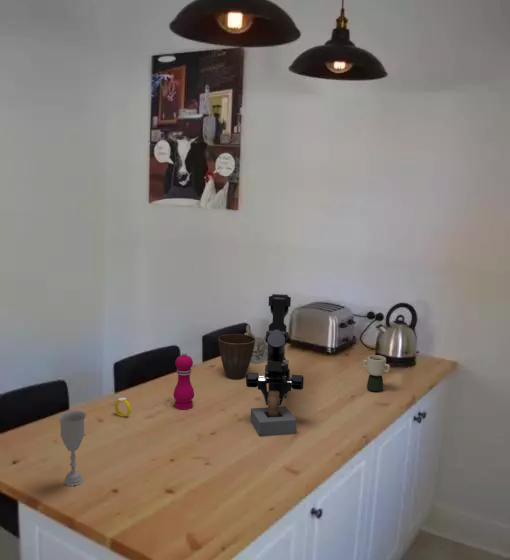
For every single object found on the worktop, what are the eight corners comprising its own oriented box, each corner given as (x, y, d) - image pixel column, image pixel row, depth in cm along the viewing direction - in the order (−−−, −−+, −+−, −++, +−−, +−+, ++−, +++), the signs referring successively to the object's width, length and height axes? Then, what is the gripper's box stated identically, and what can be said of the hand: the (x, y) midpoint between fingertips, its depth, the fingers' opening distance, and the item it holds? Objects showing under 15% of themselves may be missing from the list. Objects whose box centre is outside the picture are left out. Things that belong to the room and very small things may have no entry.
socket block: (250, 421, 202) (250, 408, 201) (285, 418, 205) (285, 406, 204) (259, 436, 190) (259, 422, 190) (296, 433, 193) (296, 419, 192)
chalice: (63, 475, 162) (61, 410, 159) (89, 474, 163) (88, 410, 160) (56, 488, 155) (55, 421, 152) (84, 488, 155) (83, 421, 152)
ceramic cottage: (235, 362, 266) (239, 329, 264) (242, 353, 282) (245, 322, 280) (271, 367, 264) (274, 333, 262) (275, 358, 280) (278, 326, 278)
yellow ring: (132, 416, 203) (132, 399, 202) (127, 419, 201) (127, 401, 200) (118, 412, 206) (118, 395, 205) (113, 415, 203) (112, 398, 202)
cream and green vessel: (391, 390, 236) (393, 358, 234) (384, 395, 230) (386, 362, 228) (365, 384, 242) (367, 353, 240) (358, 389, 236) (359, 357, 234)
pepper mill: (190, 411, 209) (191, 355, 206) (170, 409, 210) (170, 353, 207) (196, 403, 216) (197, 349, 213) (177, 401, 217) (177, 347, 214)
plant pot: (261, 375, 249) (262, 337, 247) (240, 385, 237) (242, 345, 234) (231, 368, 257) (232, 332, 254) (210, 377, 245) (210, 339, 242)
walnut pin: (269, 421, 199) (270, 389, 198) (279, 423, 198) (280, 391, 197) (266, 425, 196) (267, 393, 194) (276, 427, 195) (277, 394, 193)
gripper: (247, 348, 198) (243, 392, 189) (304, 351, 197) (303, 396, 188) (248, 364, 207) (244, 407, 198) (303, 367, 206) (302, 410, 197)
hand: (273, 405), depth 195 cm, fingers open, 4 cm apart
